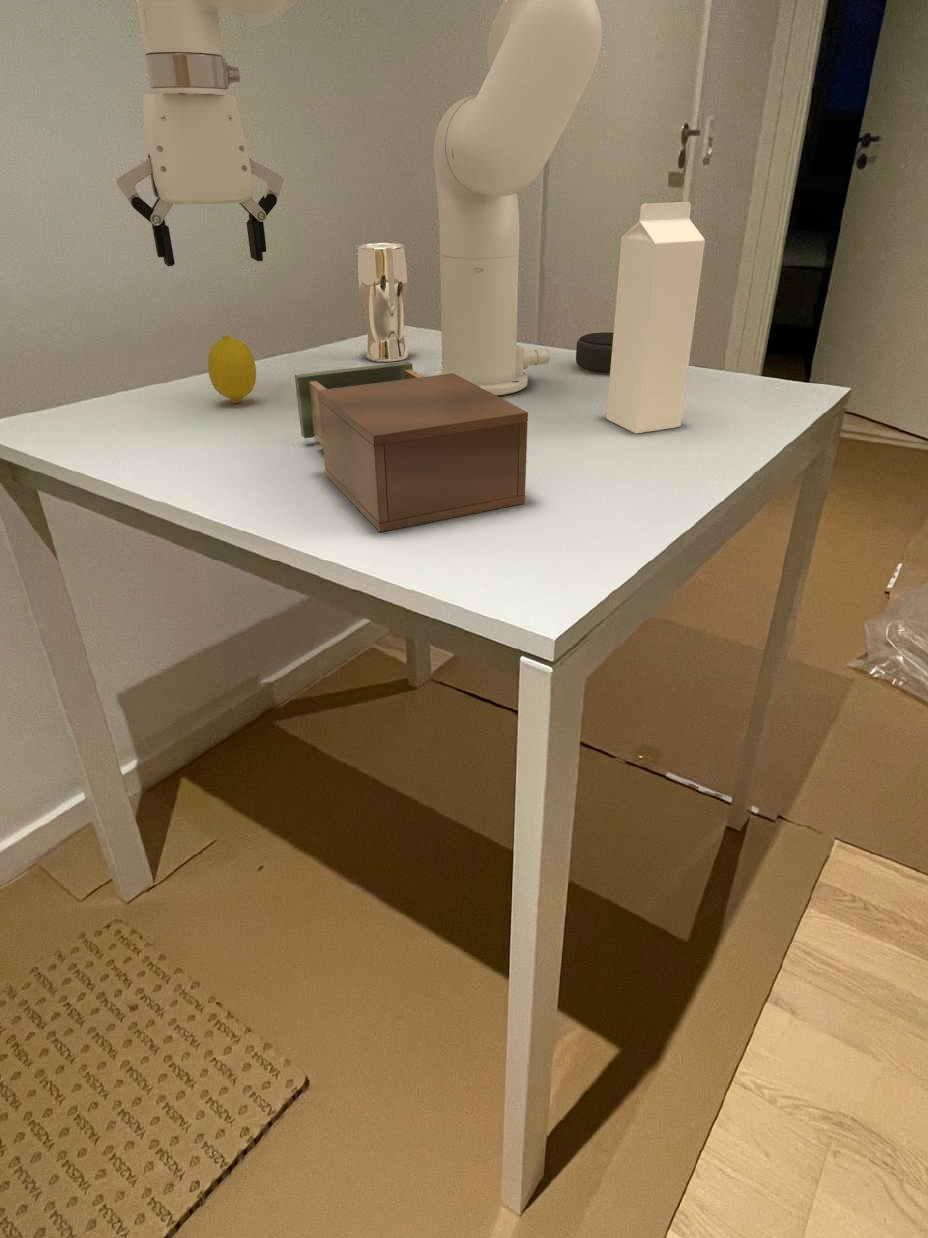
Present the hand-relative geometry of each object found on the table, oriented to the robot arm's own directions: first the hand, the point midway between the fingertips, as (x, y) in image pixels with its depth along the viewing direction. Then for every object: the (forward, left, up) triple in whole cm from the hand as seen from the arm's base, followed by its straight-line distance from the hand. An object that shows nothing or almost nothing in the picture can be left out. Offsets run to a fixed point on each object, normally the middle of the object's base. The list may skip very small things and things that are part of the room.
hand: (214, 262), depth 91 cm
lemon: (0, 0, -16) cm, 16 cm away
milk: (-39, +29, -16) cm, 51 cm away
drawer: (-9, +22, -15) cm, 28 cm away
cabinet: (-9, +36, -16) cm, 40 cm away
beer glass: (-25, -14, -16) cm, 33 cm away
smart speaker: (-50, +6, -16) cm, 53 cm away
